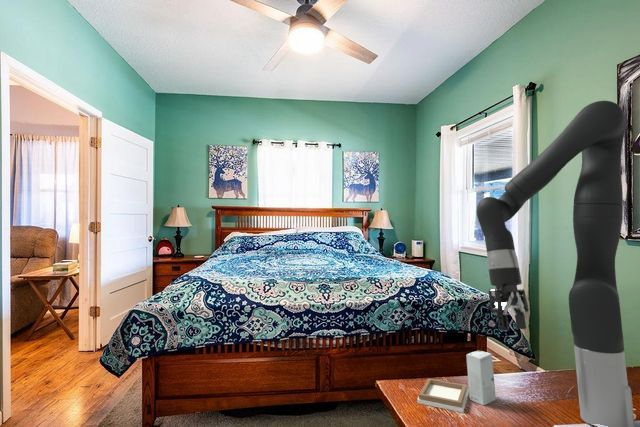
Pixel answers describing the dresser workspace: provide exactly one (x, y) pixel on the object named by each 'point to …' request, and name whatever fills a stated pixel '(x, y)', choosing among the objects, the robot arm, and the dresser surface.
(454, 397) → the tray
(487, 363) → the skincare box
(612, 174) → the robot arm
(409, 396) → the dresser surface
